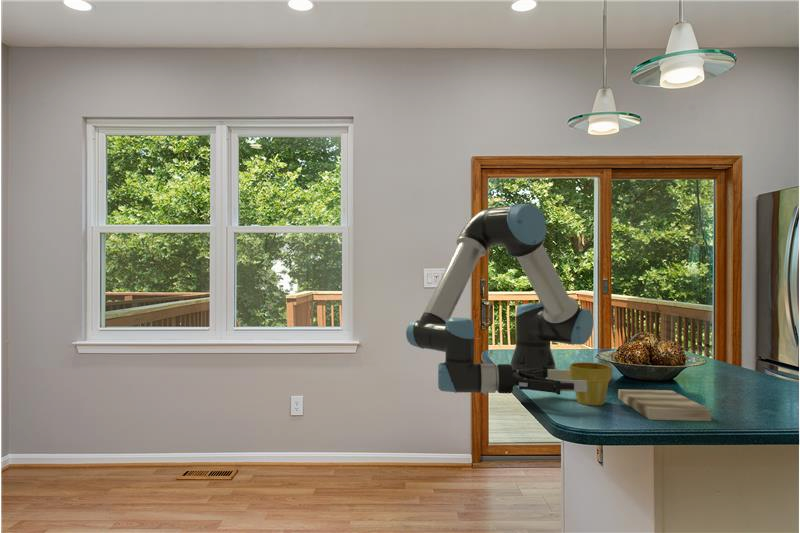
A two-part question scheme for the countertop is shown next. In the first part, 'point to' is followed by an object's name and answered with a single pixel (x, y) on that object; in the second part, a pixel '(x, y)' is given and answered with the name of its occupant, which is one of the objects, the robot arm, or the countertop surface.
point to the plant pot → (592, 381)
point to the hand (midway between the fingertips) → (579, 380)
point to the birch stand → (664, 405)
